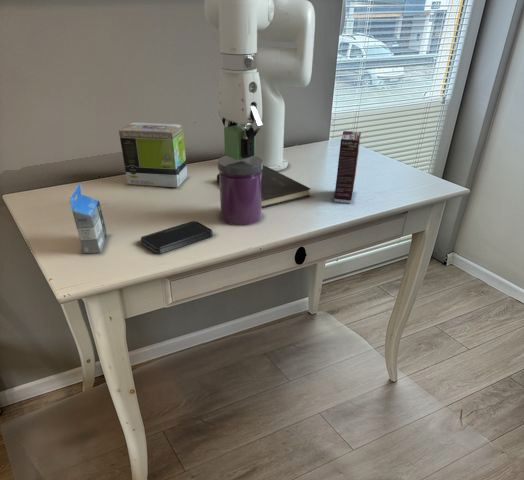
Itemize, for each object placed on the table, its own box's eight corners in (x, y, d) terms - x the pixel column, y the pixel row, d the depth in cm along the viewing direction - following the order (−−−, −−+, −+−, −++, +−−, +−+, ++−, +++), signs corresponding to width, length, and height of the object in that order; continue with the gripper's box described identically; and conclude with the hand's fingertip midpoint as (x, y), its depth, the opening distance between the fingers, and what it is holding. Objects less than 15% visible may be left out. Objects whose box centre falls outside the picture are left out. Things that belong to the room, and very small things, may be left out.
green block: (224, 155, 114) (223, 127, 110) (242, 151, 116) (241, 124, 112) (237, 160, 111) (237, 132, 107) (255, 156, 113) (255, 128, 109)
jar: (212, 215, 123) (209, 159, 115) (245, 205, 128) (244, 151, 120) (236, 229, 117) (235, 171, 108) (270, 218, 122) (272, 162, 113)
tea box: (188, 177, 145) (183, 123, 136) (177, 188, 137) (172, 132, 128) (139, 173, 147) (131, 120, 138) (126, 185, 139) (117, 129, 130)
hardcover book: (263, 172, 149) (263, 164, 147) (309, 196, 134) (310, 188, 132) (216, 182, 142) (216, 174, 140) (260, 208, 127) (260, 199, 125)
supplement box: (351, 204, 130) (359, 140, 120) (333, 202, 131) (339, 139, 121) (353, 192, 137) (361, 131, 127) (336, 190, 137) (342, 130, 127)
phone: (214, 231, 113) (157, 249, 105) (214, 235, 114) (157, 254, 106) (194, 220, 118) (138, 237, 110) (195, 224, 118) (139, 241, 110)
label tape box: (101, 253, 106) (89, 197, 99) (81, 254, 106) (68, 198, 98) (107, 235, 113) (97, 182, 106) (89, 236, 113) (77, 182, 105)
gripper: (279, 66, 99) (276, 160, 110) (229, 56, 109) (231, 142, 120) (249, 70, 95) (249, 166, 106) (200, 59, 105) (205, 147, 116)
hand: (240, 152), depth 113 cm, fingers closed on green block, 5 cm apart
